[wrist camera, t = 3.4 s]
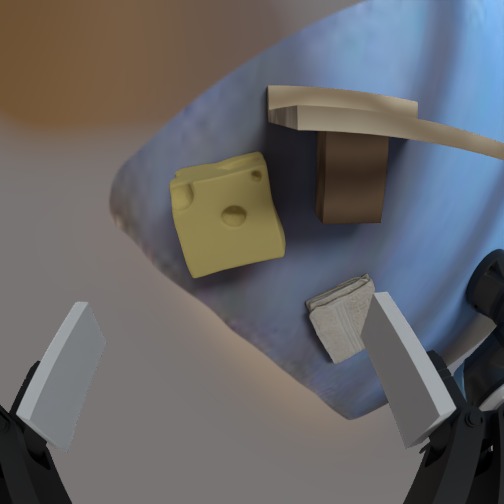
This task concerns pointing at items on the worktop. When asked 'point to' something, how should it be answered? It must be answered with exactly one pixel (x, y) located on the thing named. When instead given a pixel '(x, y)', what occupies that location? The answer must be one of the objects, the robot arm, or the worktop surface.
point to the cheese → (226, 214)
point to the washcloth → (342, 316)
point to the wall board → (359, 143)
